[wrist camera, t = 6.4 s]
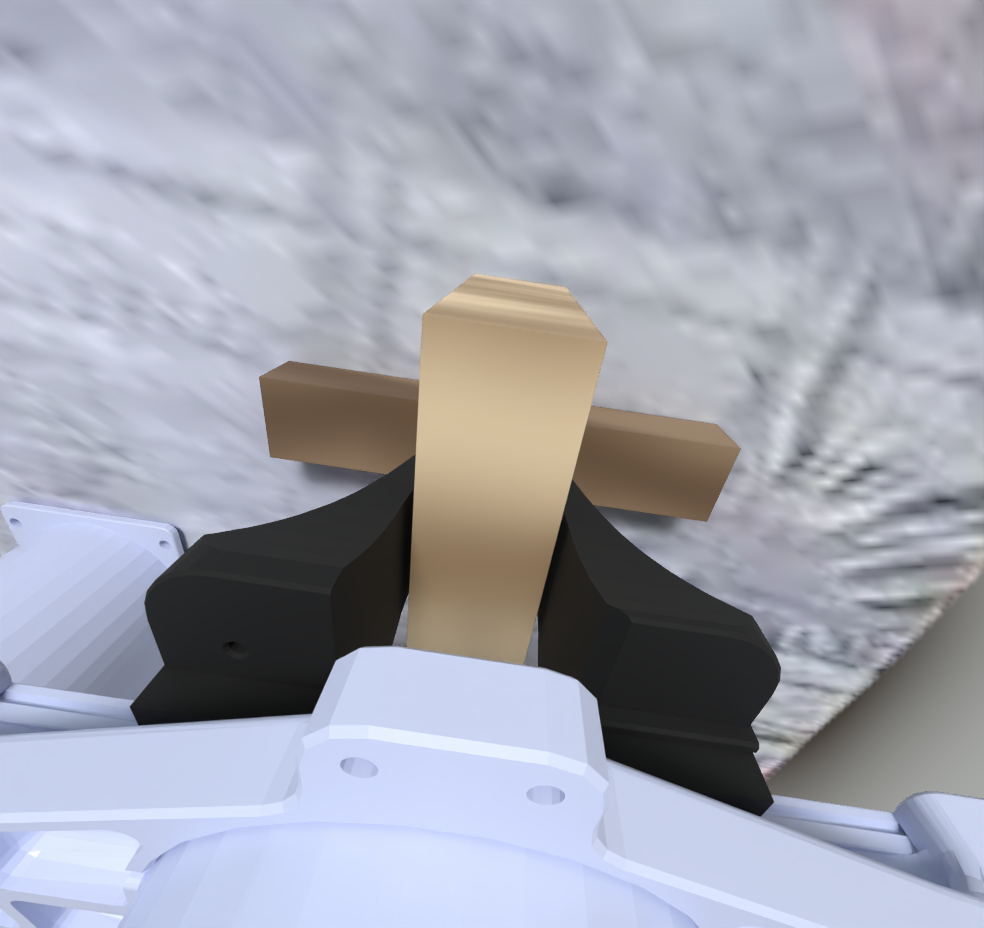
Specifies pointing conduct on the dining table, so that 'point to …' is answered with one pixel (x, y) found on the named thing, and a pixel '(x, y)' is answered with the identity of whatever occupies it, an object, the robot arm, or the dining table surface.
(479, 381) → the beveled light wood block
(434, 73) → the dining table surface
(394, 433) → the walnut rail
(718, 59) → the dining table surface
